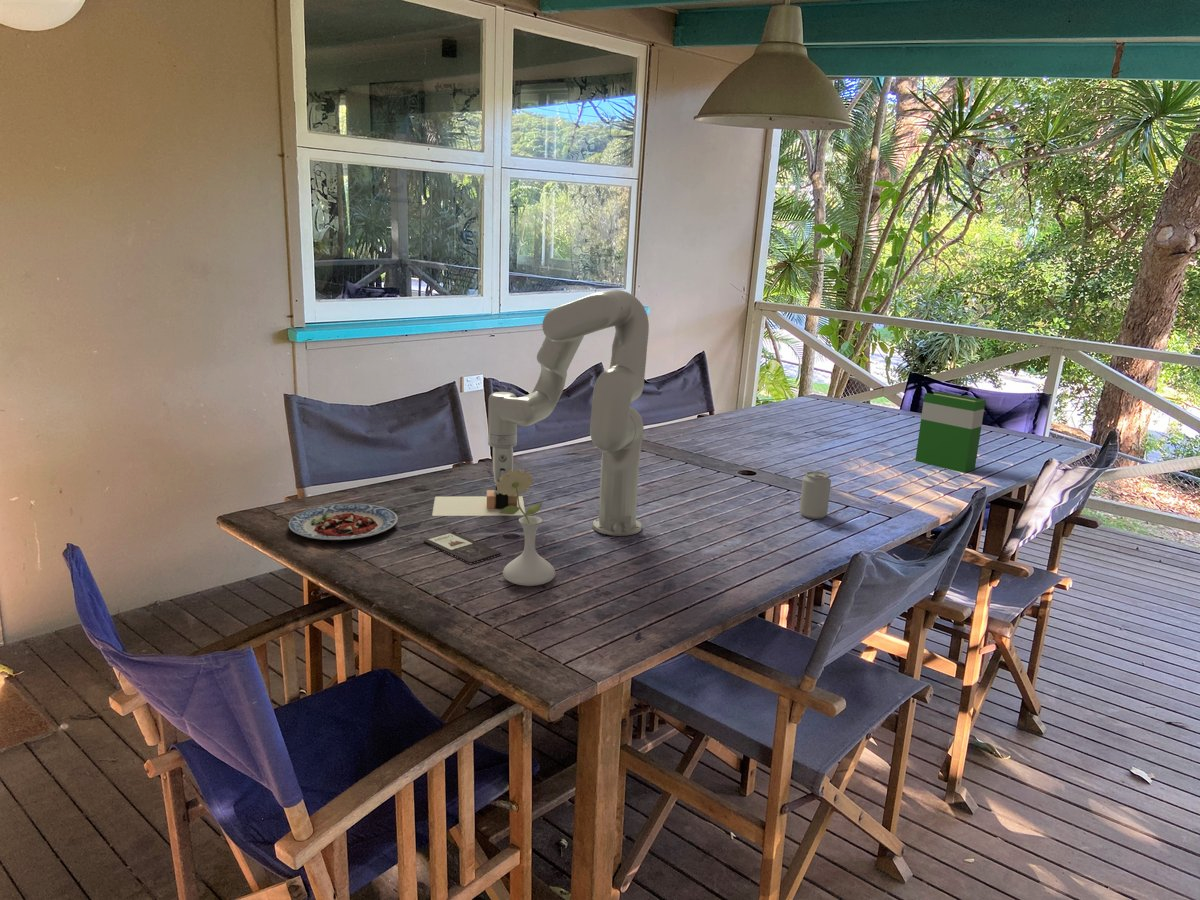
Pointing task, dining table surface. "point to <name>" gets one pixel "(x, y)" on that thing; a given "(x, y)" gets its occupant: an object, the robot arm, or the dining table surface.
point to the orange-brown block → (492, 499)
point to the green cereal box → (950, 431)
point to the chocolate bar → (462, 547)
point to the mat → (469, 507)
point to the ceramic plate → (343, 521)
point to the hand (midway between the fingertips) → (501, 503)
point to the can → (815, 495)
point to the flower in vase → (529, 564)
